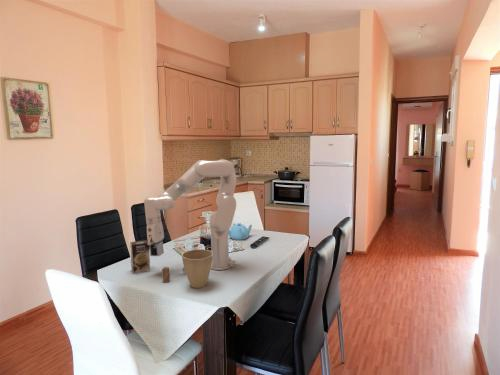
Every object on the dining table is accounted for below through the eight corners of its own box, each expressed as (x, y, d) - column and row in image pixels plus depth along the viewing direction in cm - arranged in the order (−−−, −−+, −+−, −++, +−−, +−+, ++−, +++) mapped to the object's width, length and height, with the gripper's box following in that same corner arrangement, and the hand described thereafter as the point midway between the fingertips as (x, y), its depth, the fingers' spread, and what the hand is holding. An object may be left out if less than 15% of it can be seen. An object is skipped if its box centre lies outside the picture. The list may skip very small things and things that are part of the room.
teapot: (224, 239, 257) (224, 224, 255) (233, 234, 270) (233, 220, 269) (244, 241, 251) (243, 226, 249) (252, 236, 264) (252, 221, 263)
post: (169, 280, 185) (169, 267, 184) (167, 282, 182) (166, 269, 181) (165, 280, 185) (164, 267, 184) (162, 282, 183) (162, 268, 182)
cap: (163, 252, 195) (162, 241, 194) (159, 256, 190) (157, 244, 189) (155, 252, 196) (153, 240, 195) (150, 256, 191) (148, 243, 190)
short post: (189, 273, 194) (189, 266, 193) (187, 275, 191) (187, 268, 191) (185, 273, 194) (184, 266, 194) (183, 274, 192) (182, 267, 191)
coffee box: (133, 274, 195) (131, 244, 193) (131, 270, 200) (129, 241, 198) (150, 270, 199) (149, 242, 197) (148, 267, 205) (146, 239, 202)
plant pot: (177, 288, 175) (175, 256, 172) (193, 277, 188) (192, 248, 186) (203, 293, 169) (202, 260, 166) (219, 281, 182) (218, 251, 180)
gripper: (151, 224, 181) (155, 259, 184) (167, 216, 197) (170, 248, 200) (138, 224, 183) (142, 258, 186) (155, 216, 199) (158, 248, 202)
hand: (157, 253), depth 193 cm, fingers closed on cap, 5 cm apart
